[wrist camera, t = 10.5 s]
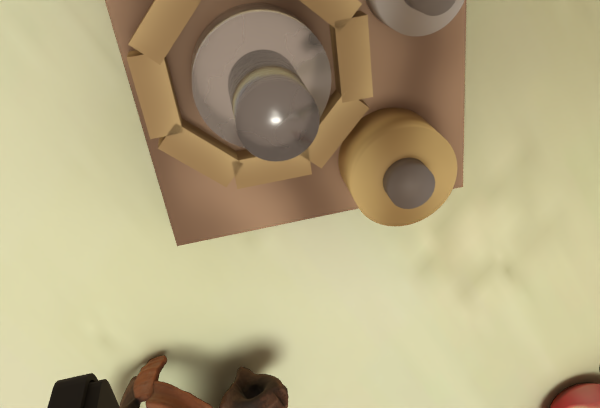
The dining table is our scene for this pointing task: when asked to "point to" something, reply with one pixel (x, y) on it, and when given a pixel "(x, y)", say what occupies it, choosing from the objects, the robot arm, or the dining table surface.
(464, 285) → the dining table surface
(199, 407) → the brown creature figurine
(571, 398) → the liquor
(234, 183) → the carrier board
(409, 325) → the dining table surface
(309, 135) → the knobbed round disc
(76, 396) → the robot arm
